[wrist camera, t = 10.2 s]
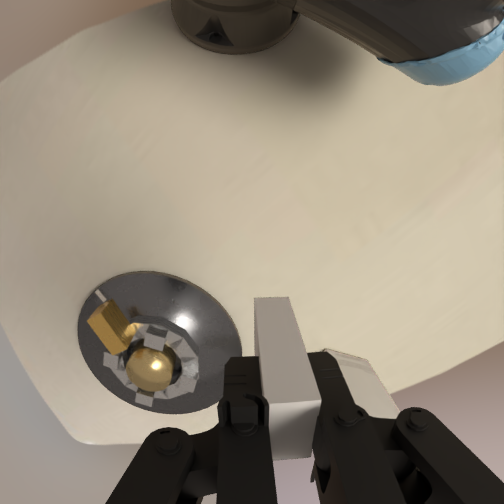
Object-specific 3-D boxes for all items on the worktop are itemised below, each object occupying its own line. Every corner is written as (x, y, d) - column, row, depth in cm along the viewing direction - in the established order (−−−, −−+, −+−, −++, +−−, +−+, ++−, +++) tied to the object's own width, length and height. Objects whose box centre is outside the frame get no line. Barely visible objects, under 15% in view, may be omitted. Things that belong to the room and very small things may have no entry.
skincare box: (304, 378, 45) (326, 459, 30) (326, 344, 43) (358, 423, 28) (349, 390, 46) (380, 463, 31) (372, 358, 45) (412, 429, 30)
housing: (52, 310, 40) (34, 328, 35) (187, 239, 38) (178, 253, 33) (140, 422, 47) (133, 445, 42) (269, 382, 45) (273, 407, 40)
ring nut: (217, 372, 42) (214, 401, 37) (147, 398, 44) (138, 425, 38) (148, 274, 38) (134, 295, 32) (79, 313, 39) (60, 335, 33)
